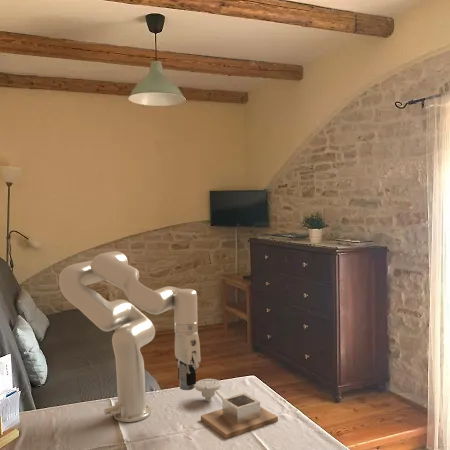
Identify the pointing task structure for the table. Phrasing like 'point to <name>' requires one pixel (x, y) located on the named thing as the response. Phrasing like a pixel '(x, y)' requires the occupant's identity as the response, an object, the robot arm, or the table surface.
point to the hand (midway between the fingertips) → (187, 381)
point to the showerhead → (208, 387)
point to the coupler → (184, 377)
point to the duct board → (238, 416)
